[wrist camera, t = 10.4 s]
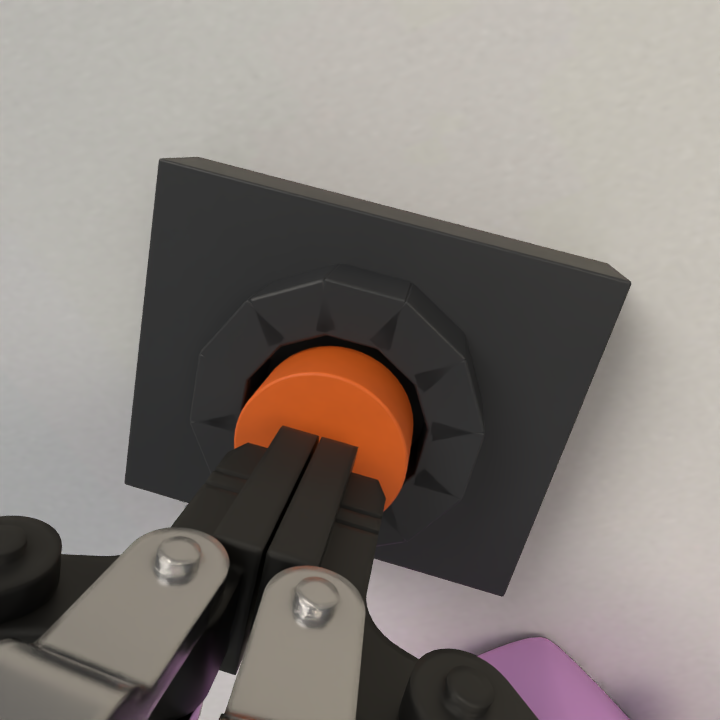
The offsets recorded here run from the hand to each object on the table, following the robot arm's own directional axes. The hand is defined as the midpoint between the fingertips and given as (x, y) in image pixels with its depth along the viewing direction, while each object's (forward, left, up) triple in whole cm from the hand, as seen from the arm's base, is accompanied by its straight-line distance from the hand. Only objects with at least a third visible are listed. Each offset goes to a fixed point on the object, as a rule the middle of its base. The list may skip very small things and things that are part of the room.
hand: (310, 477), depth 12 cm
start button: (0, 0, -3) cm, 3 cm away
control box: (0, 0, -6) cm, 6 cm away
